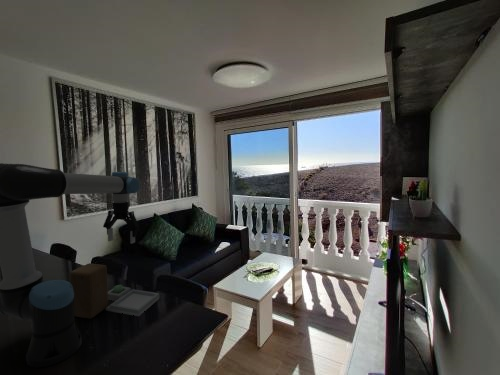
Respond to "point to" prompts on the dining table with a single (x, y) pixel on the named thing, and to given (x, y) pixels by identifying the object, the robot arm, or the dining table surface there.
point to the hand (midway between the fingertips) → (121, 241)
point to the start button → (118, 289)
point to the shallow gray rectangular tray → (134, 302)
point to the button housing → (116, 296)
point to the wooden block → (89, 290)
